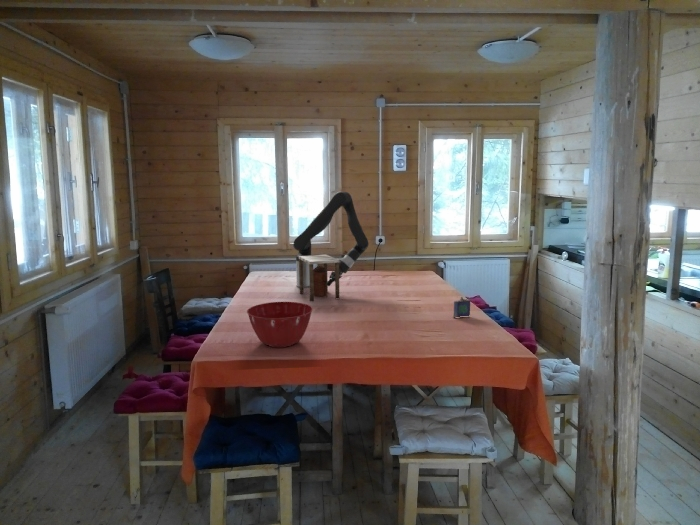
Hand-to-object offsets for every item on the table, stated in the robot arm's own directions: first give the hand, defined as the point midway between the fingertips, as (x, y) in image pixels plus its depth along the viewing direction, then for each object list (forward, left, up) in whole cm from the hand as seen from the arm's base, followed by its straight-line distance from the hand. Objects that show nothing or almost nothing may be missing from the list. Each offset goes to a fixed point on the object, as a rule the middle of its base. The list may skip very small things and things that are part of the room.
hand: (327, 285), depth 337 cm
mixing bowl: (+85, -50, -7) cm, 99 cm away
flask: (+78, +47, -7) cm, 91 cm away
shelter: (0, -5, -6) cm, 8 cm away
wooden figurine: (-2, -5, -7) cm, 8 cm away
